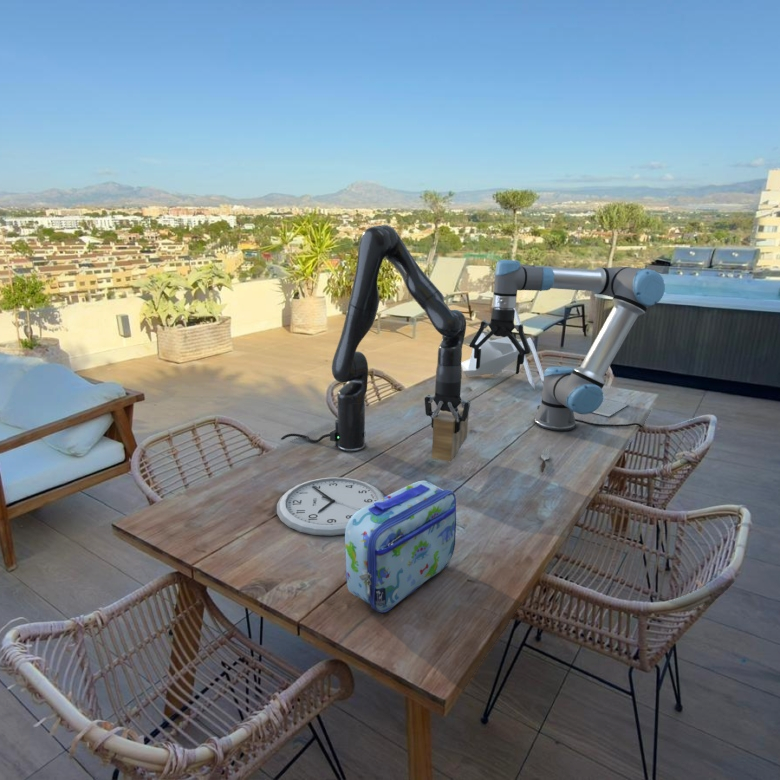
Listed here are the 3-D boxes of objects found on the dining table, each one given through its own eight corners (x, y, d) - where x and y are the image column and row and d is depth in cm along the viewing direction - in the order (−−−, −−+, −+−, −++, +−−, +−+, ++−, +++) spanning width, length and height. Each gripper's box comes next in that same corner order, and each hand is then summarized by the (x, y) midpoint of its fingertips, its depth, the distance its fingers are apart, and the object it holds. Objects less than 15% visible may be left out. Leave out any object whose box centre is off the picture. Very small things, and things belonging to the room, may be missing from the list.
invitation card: (608, 416, 214) (573, 407, 224) (608, 416, 214) (573, 408, 224) (628, 404, 229) (594, 396, 238) (628, 405, 229) (594, 397, 238)
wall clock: (392, 527, 129) (268, 531, 127) (391, 533, 130) (269, 537, 127) (383, 473, 158) (282, 475, 155) (383, 478, 158) (282, 480, 156)
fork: (537, 473, 163) (538, 467, 163) (541, 453, 178) (542, 448, 177) (546, 474, 163) (546, 468, 162) (549, 454, 177) (550, 449, 176)
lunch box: (374, 626, 100) (375, 530, 93) (338, 598, 107) (337, 508, 101) (459, 568, 117) (465, 484, 111) (424, 547, 124) (427, 467, 118)
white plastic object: (482, 418, 267) (461, 395, 242) (463, 346, 289) (443, 318, 265) (552, 394, 255) (538, 367, 230) (527, 321, 277) (512, 289, 252)
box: (449, 435, 179) (451, 399, 175) (466, 437, 177) (469, 402, 173) (431, 458, 161) (433, 419, 157) (450, 461, 159) (453, 422, 155)
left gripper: (421, 378, 154) (419, 431, 159) (469, 384, 149) (465, 439, 154) (429, 372, 161) (426, 423, 166) (475, 378, 156) (471, 430, 161)
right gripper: (463, 306, 173) (458, 368, 179) (541, 313, 164) (533, 378, 171) (469, 303, 180) (464, 363, 186) (543, 310, 171) (536, 372, 177)
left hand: (445, 430), depth 160 cm, fingers closed on box, 6 cm apart
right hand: (497, 370), depth 178 cm, fingers open, 13 cm apart
